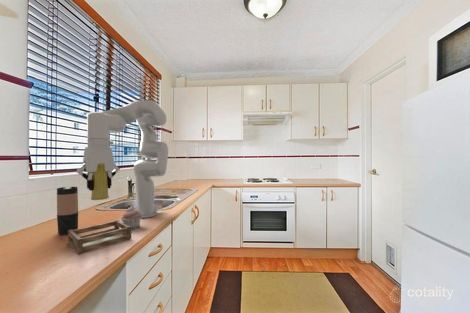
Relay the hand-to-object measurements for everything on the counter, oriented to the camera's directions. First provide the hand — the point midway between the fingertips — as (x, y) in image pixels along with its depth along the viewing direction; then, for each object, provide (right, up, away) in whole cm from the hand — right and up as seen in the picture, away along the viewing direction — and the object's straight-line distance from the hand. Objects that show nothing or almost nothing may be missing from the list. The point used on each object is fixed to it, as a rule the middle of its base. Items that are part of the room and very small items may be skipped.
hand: (99, 188), depth 90 cm
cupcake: (+5, -21, +17) cm, 28 cm away
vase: (0, -4, 0) cm, 4 cm away
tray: (0, -21, 0) cm, 21 cm away
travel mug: (-21, -21, +11) cm, 32 cm away
